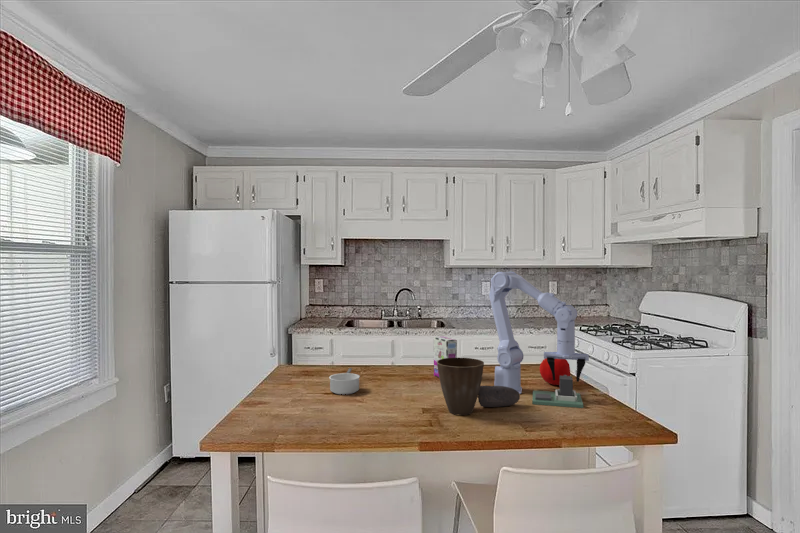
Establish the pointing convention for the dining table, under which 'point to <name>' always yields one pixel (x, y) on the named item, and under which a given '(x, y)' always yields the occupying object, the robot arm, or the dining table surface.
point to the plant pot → (460, 383)
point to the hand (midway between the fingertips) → (565, 380)
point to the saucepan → (344, 383)
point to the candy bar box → (443, 350)
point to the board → (557, 399)
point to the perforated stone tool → (497, 396)
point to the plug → (566, 385)
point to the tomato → (560, 370)
